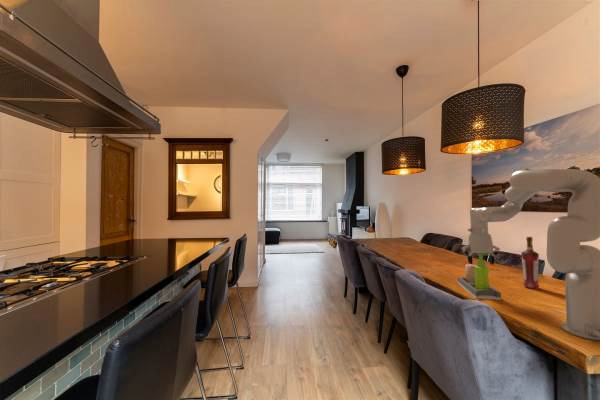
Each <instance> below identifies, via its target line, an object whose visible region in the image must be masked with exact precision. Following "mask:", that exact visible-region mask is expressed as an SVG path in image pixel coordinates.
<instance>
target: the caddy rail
mask: <svg viewBox="0 0 600 400" xmlns="http://www.w3.org/2000/svg"><path fill="white" fill-rule="evenodd" d="M464 266H465V268H464V269H465V272H464V273H465V276H464V277H463V276H462V277H461V276H457V283H458V284H457V285H459V284H460V285H459V286H461V287H462V288H463V289H464V290H465V291H467V293H469V294H470V295H471V296H472V297H474V298H475V299H479V300H480V299H481V300H495V301H496V300H497V301H501V300H502V293H501V291H499V290H497V289H496V288H494V287H493V286H491V284H489V290H481V289H475V266H477V264H470V263H467V264H465V265H464Z"/></svg>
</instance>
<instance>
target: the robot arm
mask: <svg viewBox="0 0 600 400" xmlns="http://www.w3.org/2000/svg"><path fill="white" fill-rule="evenodd" d="M508 181H509V185H510V187H508V188H507V189H506V190H505V192H504V197H505V198H506V200H507V201H506V202H505V203H504V204H503V205H500V206H485V207H472V208H470V210H469V217H470V219H469V220H470V222H469V223H470V228H468V229H467V231H468V232H470V233H469V236H468V242H467V243H468V244H466V245H464V246H462V247H461V250H462V252H463V254H465V255H466V256H467V262H468V264H472V265H474V264H473V261H474V260H473V256H472V255H473V254H479V253H485V254H489V255H490V256H488V257H489V259H488V262H489V263H488V264H490V265H495V257H496V256H497V255H498V254H499V252H500V247H499V246H496V245H493V240H492V239H493V238H492V236H491V233H489V223H497V222H498V223H500V222H502V223H503V222H507V221H509V220H510V219H512V218H513V217H514V216H516V215H518V214H519V213H520V212H521V211H522V208H523V206H524V203H525V202H527V201H528V200H530V199H531V198H532V197H533V196H536V194H538V193H539V192H543V193H544V192H545V193H546V192H548V193H550V192H551V193H553V192H554V193H557V192H558V193H559V192H561V193H562V192H564V193H565V192H568V193H569V192H570V193H572V195H571V197H570V198H569V200H568V204H567V215H565V216H563V215H562V216H558V217H555V218H554V219H553V220H552V221H551V222H550V223H549V224H548V226H547V233H546V260H547V263H548V264H549V266H550V267H551V268H552V269H553V270H554V271H556V272H559V273H562V274H565V279H564V280H565V282H564V284H565V286H564V288H565V290H564V291H565V310H566V311H565V315H566V321H563V322H561V323H560V328H561V329H562V330H564V331H565V332H567V333H568V334H571V335H574V336H576V337H577V336H578V337H580V338H584V339H587V340H591V341H592V340H593V341H600V249H599V248H597V247H595V246H593V245H588V244H581V243H584V242H585V243H586V242H593V241H596V240H598V239H599V238H600V177H599V176H598V175H596V174H594V173H592V172H590V171H587V170H583V169H578V168H577V169H573V168H572V169H571V168H566V169H564V168H561V169H559V168H552V169H550V168H549V169H545V168H544V169H519V170H516V171H515V172H513V173H512V174H511V176H510V177H509V180H508ZM467 249H468V251H467Z"/></svg>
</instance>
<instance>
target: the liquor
mask: <svg viewBox="0 0 600 400" xmlns="http://www.w3.org/2000/svg"><path fill="white" fill-rule="evenodd" d="M525 241H526V248H525V249H526V250H524V251H522V252H520V253H521V263H522V264H521V265H522V272H523V274H522V275H523V283H522V284H523V286H524V287H525V288H527V289H532V290H534V289H535V290H536V289H538V288H539V287H540V285H539V266H540V263H539V262H540V261H539V259H540V254H539V253H538V252H536V251H535V250H534V246H533V241H534V239H533V237H532V236H526V238H525Z"/></svg>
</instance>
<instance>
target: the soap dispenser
mask: <svg viewBox="0 0 600 400" xmlns="http://www.w3.org/2000/svg"><path fill="white" fill-rule="evenodd" d="M476 255H477V256H478V259H477V260H476V265H477V266H475V289H481V290H489V285H490V284H489V267H488V266H486V260H485V259H484V256H488V257H489V256H490V254H489V253H476Z"/></svg>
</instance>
